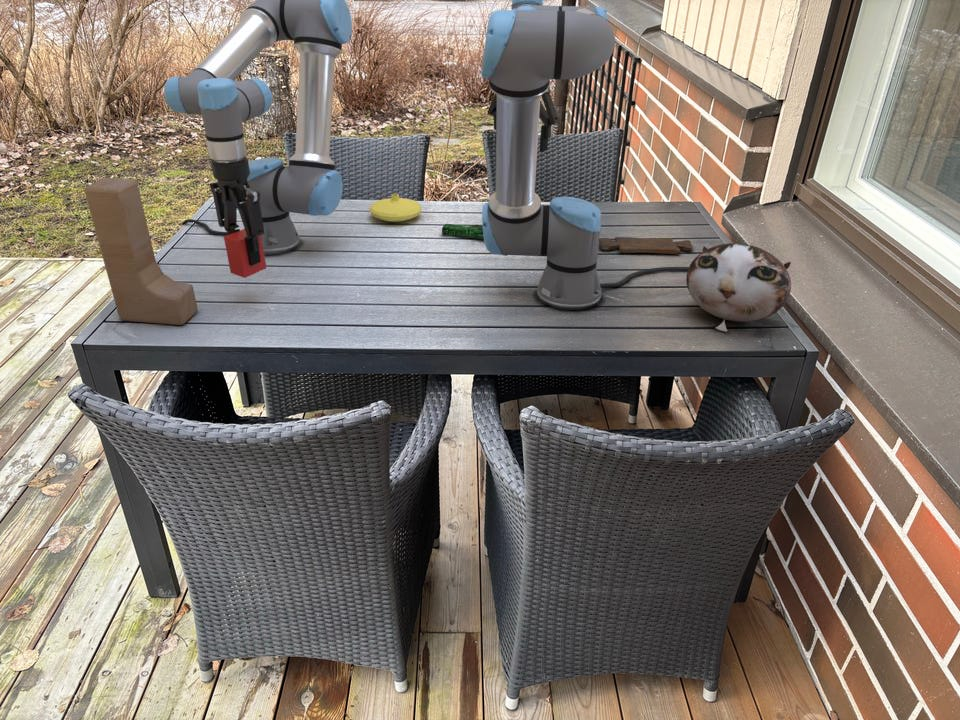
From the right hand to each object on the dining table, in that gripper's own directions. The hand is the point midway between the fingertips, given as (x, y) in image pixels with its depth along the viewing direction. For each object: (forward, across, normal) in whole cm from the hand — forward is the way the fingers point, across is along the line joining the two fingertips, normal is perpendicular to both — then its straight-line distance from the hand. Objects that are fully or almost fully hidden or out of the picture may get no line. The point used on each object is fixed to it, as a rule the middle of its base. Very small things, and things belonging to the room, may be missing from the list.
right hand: (521, 147), depth 190 cm
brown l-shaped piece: (+26, +41, +88) cm, 100 cm away
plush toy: (+26, -65, +14) cm, 71 cm away
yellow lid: (+26, +39, +6) cm, 47 cm away
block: (+18, +30, +70) cm, 78 cm away
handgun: (+26, +12, +2) cm, 29 cm away
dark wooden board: (+26, -33, -15) cm, 44 cm away
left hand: (+16, +30, +70) cm, 78 cm away
